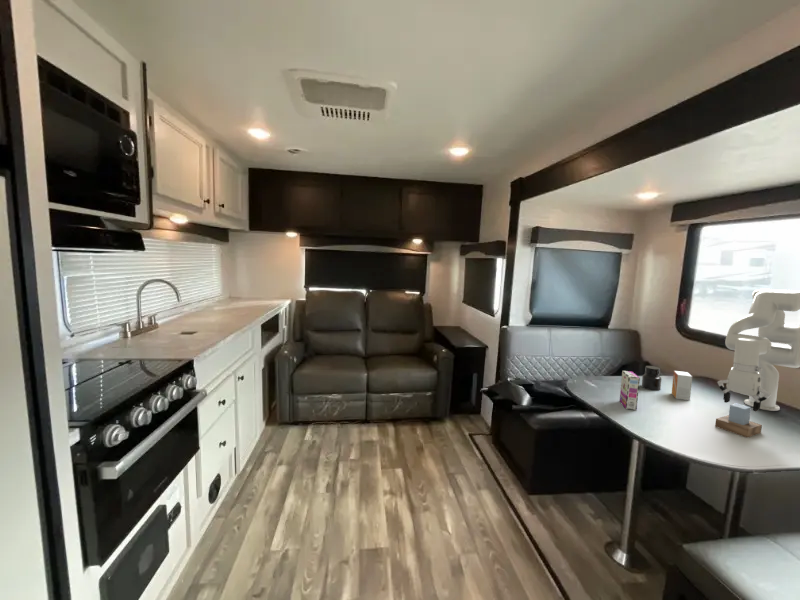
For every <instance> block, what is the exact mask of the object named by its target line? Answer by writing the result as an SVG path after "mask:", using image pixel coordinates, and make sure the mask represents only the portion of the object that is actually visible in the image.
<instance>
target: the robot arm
mask: <svg viewBox="0 0 800 600" xmlns="http://www.w3.org/2000/svg"><path fill="white" fill-rule="evenodd" d="M752 300H753V301H751V302H752V303H751V306H750V309H749V311H748V314H747V315H746V316H744V317H741V318H739V319H738V320H736V321H735V322H733V323H731V326H730V327H729V329H728V332H727V334H726V337H725V342H724V344H725V347H726V348H727V349H729V350H730V351H731V350H732V351H734V353H733V355H734V356H733V365H732V367H731V368H730V370H729V372H728V375H727V379H723V380H718V381H717V382H716V383H717V385H718V387H719V389H720V390H721V391H722V393H723V402H724V403H728V402H731V401H730V400H731V392H734V393H738V394H741V395H745V396H749V398H747V399H744V401H743V402H744V403H745V405H746V406H748V407H752V411H753V412H756V411H759V410H764V411H769V412H770V411H771V412H777V411H780V410H781V409H780V406H779V405H778V404H777V396H778V388H779V381H780V372H779V370H777V368H776V367H775V366H780V367H788V368H793V369H796V368H797V369H798V368H800V325H795V324H788V323H785V320H786V319H785V318H786V312H797V311H799V310H800V290H792V289H791V290H790V289H788V290H787V289H774V288H773V289H772V288H771V289H770V288H760V289H755V290H754V291H753V292H752ZM753 329H758V333H757V334H758V335H751V334H741V332H744V331H746V330H753ZM772 343H775V344H772ZM777 344H780V345H777ZM782 344H783V345H782ZM784 345H787V346H784ZM724 384H726V386H725V385H724Z"/></svg>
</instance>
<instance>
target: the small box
mask: <svg viewBox="0 0 800 600" xmlns="http://www.w3.org/2000/svg"><path fill="white" fill-rule="evenodd" d="M692 383H693V375H691V374H690V373H689V372H688V371H682V370H681V371H679V370H673V376H672V383H671V384H672V385H671V395H672V396H673V397H674V398H675V399H677V400H685V401H691V394H692V393H691V391H692Z"/></svg>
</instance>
